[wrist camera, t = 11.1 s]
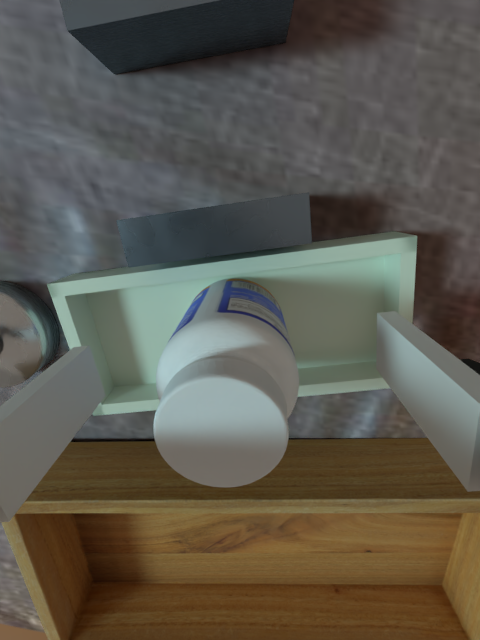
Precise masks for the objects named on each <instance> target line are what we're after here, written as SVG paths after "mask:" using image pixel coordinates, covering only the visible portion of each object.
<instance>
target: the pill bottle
mask: <svg viewBox="0 0 480 640" xmlns="http://www.w3.org/2000/svg"><path fill="white" fill-rule="evenodd" d="M156 388H157V394H158V398H159V402H160V403H159V405H158V408H157V411H156V414H155V418H154V425H153V430H154V439H155V442H156V445H157V448H158V450H159V452H160V454H161V456H162V457H163V458H164V460H165V461H166V462H167V463H168V464H169V465H170V466H171V467H172V468H173V469H174V470H175V471H176V472H178V473H179V474H181V475H182V476H184V477H185V478H187V479H189V480H192V481H194V482H197V483H199V484H203V485H207V486H212V487H224V488H227V487H238V486H243V485H247V484H250V483H252V482H255V481H257V480H259V479H261V478H262V477H264V476H266V475H267V474H268V473H270V472H271V471H272V470H273V469H274V468H275V467H276V466H277V465H278V463H279V462H280V460H281V459H282V458H283V455H284V453H285V451H286V448H287V443H288V438H289V427H288V418H289V416H290V414H291V413H292V411H293V409H294V406H295V404H296V401H297V397H298V390H299V373H298V367H297V363H296V359H295V355H294V352H293V349H292V345H291V341H290V338H289V335H288V331H287V328H286V325H285V321H284V318H283V314H282V311H281V309H280V306H279V304H278V303H277V301H276V299H275V298H274V296H273V295H272V294H271V293H270V292H269V291H268V290H267V289H266V288H264V287H263V286H261V285H260V284H258V283H256V282H253V281H250V280H247V279H241V278H229V279H223V280H219V281H217V282H214V283H212V284H210V285H209V286H207V287H206V288H204V289H203V290H202V291H201V292H200V293H199V294H198V295H197V296H196V297H195V299H194V300H193V302H192V303H191V305H190V307H189V308H188V310H187V312H186V313H185V315H184V317H183V318H182V320H181V322H180V323H179V325H178V326H177V328H176V330H175V331H174V333H173V335H172V336H171V338H170V340H169V341H168V343H167V345H166V347H165V349H164V350H163V353H162V355H161V357H160V359H159V362H158V366H157V372H156Z"/></svg>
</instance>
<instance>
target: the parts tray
mask: <svg viewBox="0 0 480 640" xmlns="http://www.w3.org/2000/svg"><path fill="white" fill-rule="evenodd" d="M416 252H417V236H416V235H411V234H406V233H401V232H396V231H392V232H385V233H377V234H370V235H362V236H355V237H347V238H340V239H332V240H325V241H317V242H312V243H311V244H303V245H295V246H288V247H280V248H273V249H265V250H258V251H250V252H243V253H235V254H228V255H220V256H213V257H205V258H197V259H190V260H182V261H175V262H167V263H160V264H152V265H145V266H137V267H130V268H129V267H121V268H114V269H106V270H99V271H91V272H84V273H76V274H72V275H69V276H67V277H64V278H62V279H59V280H57V281H54V282H52V283H49V284H47V286H48V289H49V292H50V295H51V298H52V300H53V303H54V306H55V309H56V312H57V315H58V317H59V320H60V323H61V326H62V329H63V332H64V334H65V337H66V340H67V343H68V346H69V348H70V350H71V349H72V348H73V347H80V346H88V345H89V346H90V349H91V352H92V355H93V358H94V361H95V364H96V367H97V370H98V373H99V377H100V380H101V383H102V386H103V389H104V392H105V395H106V396H105V397H104V398H103V400H102V401H101V402H100V404H99V405H98V406H97V408H96V409H95V410H94V411H93V416H97V415H108V414H119V413H129V412H140V411H151V410H157V408H158V405H159V403H160V402H159V398H158V394H157V388H156V372H157V366H158V362H159V359H160V357H161V355H162V353H163V350H164V349H165V347H166V345H167V343H168V341H169V340H170V338H171V336H172V335H173V333H174V331H175V330H176V328H177V326H178V325H179V323H180V322H181V320H182V318H183V317H184V315H185V313H186V312H187V310H188V308H189V307H190V305H191V303H192V302H193V300H194V299H195V297H196V296H197V295H198V294H199V293H200V292H201V291H202V290H203V289H204V288H206V287H207V286H209V285H210V284H212V283H214V282H217V281H219V280H223V279H229V278H241V279H247V280H250V281H253V282H256V283H258V284H260V285H261V286H263V287H264V288H266V289H267V290H268V291H269V292H270V293H271V294H272V295H273V296H274V298H275V299H276V301H277V303H278V304H279V306H280V309H281V311H282V314H283V318H284V321H285V325H286V328H287V331H288V335H289V338H290V341H291V345H292V349H293V352H294V355H295V359H296V363H297V367H298V373H299V390H298V397H301V396H312V395H323V394H333V393H344V392H355V391H366V390H376V389H387V388H390V387H389V385H388V384H387V383H386V381H385V380H384V379H383V377H382V376H381V374H380V373H379V372H378V370H377V369H376V354H377V313H381V312H390V311H396V312H397V313H399V314H400V315H401V316H403V317H404V318H405V319H407V320H408V321H409V322H410V323H412V324H413V307H414V288H415V270H416Z"/></svg>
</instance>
